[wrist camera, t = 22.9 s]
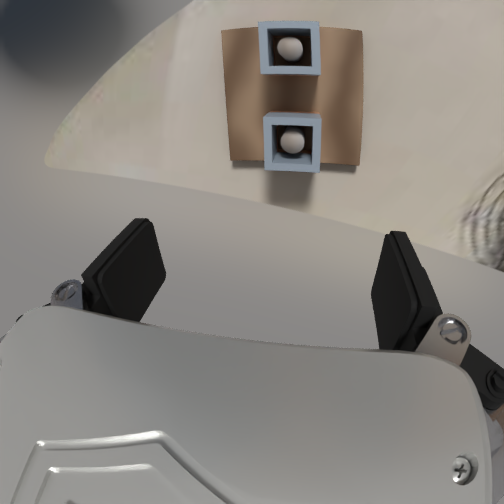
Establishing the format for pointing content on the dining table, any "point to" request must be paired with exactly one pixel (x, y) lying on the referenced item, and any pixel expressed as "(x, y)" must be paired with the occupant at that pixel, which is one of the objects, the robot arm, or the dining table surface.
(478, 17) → the dining table surface
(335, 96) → the pin board
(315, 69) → the sleeve
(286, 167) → the sleeve
